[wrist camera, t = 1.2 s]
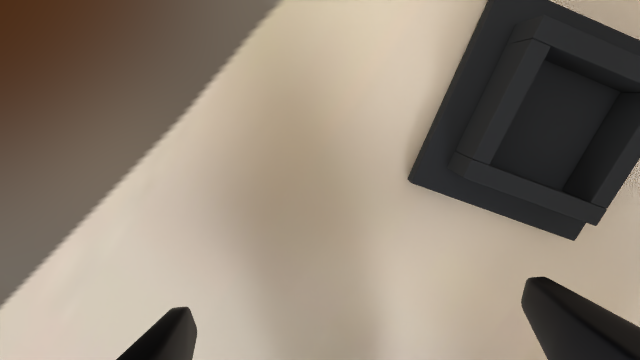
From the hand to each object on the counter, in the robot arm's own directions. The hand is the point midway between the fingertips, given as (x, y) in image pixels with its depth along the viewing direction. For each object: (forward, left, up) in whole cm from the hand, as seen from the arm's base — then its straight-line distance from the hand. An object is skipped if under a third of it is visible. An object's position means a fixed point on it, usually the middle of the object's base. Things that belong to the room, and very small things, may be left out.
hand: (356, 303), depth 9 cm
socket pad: (-2, -14, -15) cm, 20 cm away
